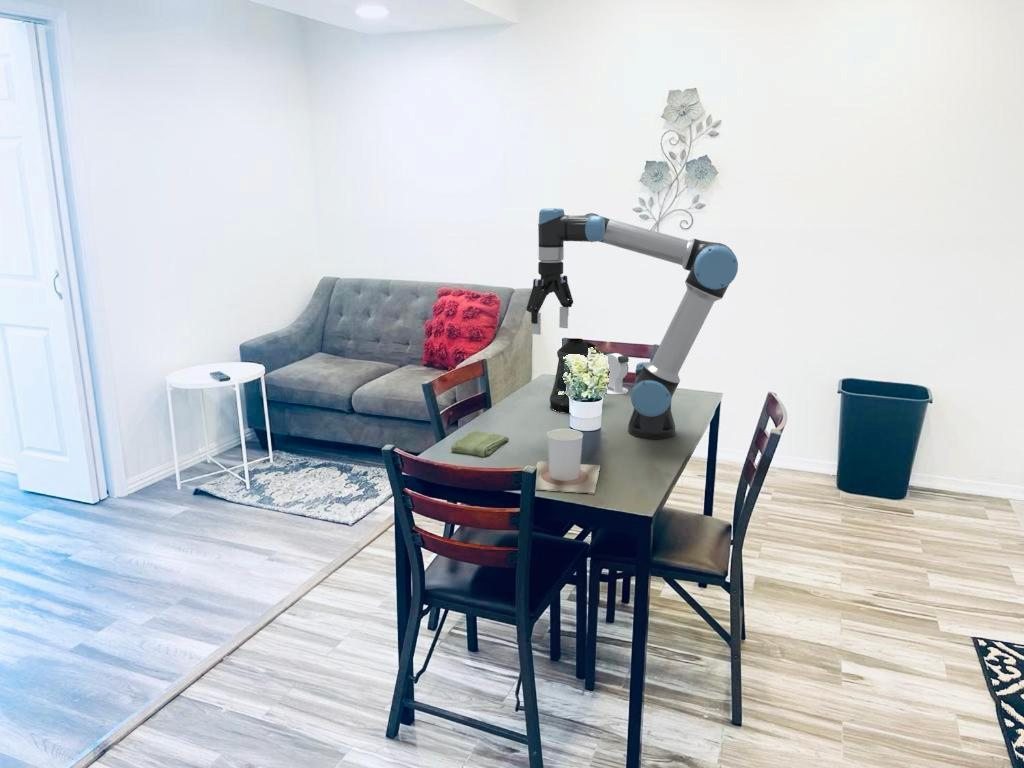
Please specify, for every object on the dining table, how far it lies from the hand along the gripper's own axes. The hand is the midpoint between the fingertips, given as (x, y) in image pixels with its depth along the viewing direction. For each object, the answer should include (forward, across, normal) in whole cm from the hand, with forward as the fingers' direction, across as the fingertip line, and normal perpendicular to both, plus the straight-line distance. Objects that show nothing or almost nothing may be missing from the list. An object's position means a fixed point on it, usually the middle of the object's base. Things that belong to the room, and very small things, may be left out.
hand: (550, 331), depth 232 cm
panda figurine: (+35, -61, -16) cm, 72 cm away
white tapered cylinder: (+34, +24, +24) cm, 48 cm away
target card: (+35, +24, +24) cm, 49 cm away
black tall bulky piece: (+35, -34, -15) cm, 51 cm away
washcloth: (+35, +20, -12) cm, 42 cm away
